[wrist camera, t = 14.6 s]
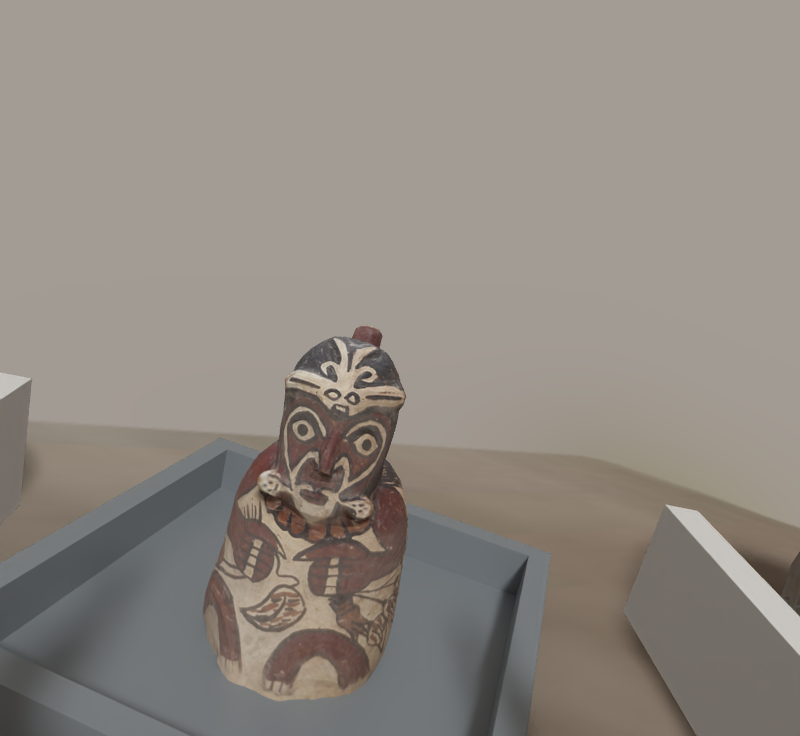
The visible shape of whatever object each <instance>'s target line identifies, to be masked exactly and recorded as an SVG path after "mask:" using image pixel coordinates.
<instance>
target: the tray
mask: <svg viewBox="0 0 800 736" xmlns="http://www.w3.org/2000/svg"><path fill="white" fill-rule="evenodd" d="M260 453H261V452H260V451H257V450H254V449H251V448H249V447H246V446H243V445H240V444H237V443H234V442H231V441H229V440H226V439H223V438H219V439H217V440H216V441H214V442H212V443H210V444H209V445H207V446H205V447H203V448H202V449H200V450H198V451H196V452H195V453H193V454H191V455H189V456H187V457H186V458H184V459H182V460H180V461H179V462H177V463H175V464H173V465H172V466H170V467H168V468H166V469H165V470H163V471H161V472H159V473H158V474H156V475H154V476H152V477H151V478H149V479H147V480H145V481H144V482H142V483H140V484H138V485H136V486H135V487H133V488H131V489H129V490H128V491H126V492H124V493H122V494H121V495H119V496H117V497H115V498H114V499H112V500H110V501H108V502H107V503H105V504H103V505H101V506H100V507H98V508H96V509H94V510H93V511H91V512H89V513H87V514H86V515H84V516H82V517H80V518H78V519H77V520H75V521H73V522H71V523H70V524H68V525H66V526H64V527H63V528H61V529H59V530H57V531H56V532H54V533H52V534H50V535H49V536H47V537H45V538H43V539H42V540H40V541H38V542H36V543H35V544H33V545H31V546H29V547H27V548H26V549H24V550H22V551H20V552H19V553H17V554H15V555H13V556H12V557H10V558H8V559H6V560H5V561H3V562H1V563H0V736H527V728H528V721H529V714H530V706H531V699H532V691H533V684H534V677H535V669H536V662H537V654H538V647H539V640H540V632H541V625H542V617H543V610H544V603H545V595H546V588H547V581H548V573H549V566H550V558H551V553H549V552H546V551H543V550H540V549H537V548H534V547H531V546H529V545H526V544H523V543H520V542H517V541H514V540H511V539H509V538H506V537H503V536H500V535H497V534H494V533H491V532H489V531H486V530H483V529H480V528H477V527H474V526H471V525H469V524H466V523H463V522H460V521H457V520H454V519H451V518H449V517H446V516H443V515H440V514H437V513H434V512H431V511H429V510H426V509H423V508H420V507H417V506H414V505H411V504H409V503H407V513H408V537H407V544H406V551H405V557H404V562H403V567H402V572H401V578H400V585H399V592H398V598H397V604H396V609H395V614H394V619H393V623H392V627H391V631H390V634H389V638H388V641H387V644H386V648H385V651H384V653H383V655H382V657H381V660H380V661H379V663H378V665H377V666H376V668H375V670H374V671H373V673H372V675H371V676H370V678H369V679H368V680H367V681H366V683H365V684H364V685H363V686H361V687H360V688H358V689H357V690H355V691H354V692H352V693H351V694H346V695H341V696H338V697H324V698H318V699H314V700H310V699H297V700H285V701H275V700H273V699H270V698H267V697H264V696H262V695H261V694H259V693H257V692H256V691H254V690H251V689H249V688H247V687H244V686H241V685H237V684H235V683H233V682H231V681H229V680H228V679H227V678H226V677H225V676H224V674H223V673H222V672H221V670H220V668H219V665H218V663H217V655H216V654H215V653H214V652H213V650H212V647H211V645H210V643H209V641H208V639H207V628H206V624H205V621H204V618H203V607H204V599H205V593H206V589H207V586H208V582H209V579H210V576H211V574H212V571H213V569H214V567H215V564H216V562H217V559H218V557H219V554H220V551H221V548H222V545H223V542H224V538H225V534H226V530H227V526H228V522H229V519H230V515H231V512H232V508H233V503H234V499H235V495H236V492H237V490H238V487H239V485H240V483H241V480H242V479H243V477H244V476H245V474H246V472H247V471H248V469H249V468H250V466H251V464H252V462H253V461H254V460H255V459H256V457H257V456H258V455H259V454H260Z"/></svg>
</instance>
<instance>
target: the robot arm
mask: <svg viewBox="0 0 800 736" xmlns="http://www.w3.org/2000/svg"><path fill="white" fill-rule="evenodd" d="M31 382H32V379H31V378H26V377H21V376H16V375H11V374H6V373H1V372H0V525H1V524H2V523H3V522H4V521H5V520H6V519H7V518H8V517H9V516H10V515H11V514H12V513H13V512H14V511H15V510H16V509H17V508H18V507H19V506H20V503H21V492H22V481H23V470H24V459H25V448H26V437H27V426H28V415H29V404H30V393H31ZM623 612H624V613H625V615H626V617H627V619H628V620H629V622H630V624H631V625H632V627H633V629H634V630H635V632H636V634H637V636H638V637H639V639H640V641H641V642H642V644H643V646H644V647H645V649H646V651H647V653H648V654H649V656H650V658H651V659H652V661H653V663H654V664H655V666H656V668H657V670H658V671H659V673H660V675H661V676H662V678H663V680H664V681H665V683H666V685H667V687H668V688H669V690H670V692H671V693H672V695H673V697H674V699H675V700H676V702H677V704H678V705H679V707H680V709H681V710H682V712H683V714H684V716H685V717H686V719H687V721H688V722H689V724H690V726H691V727H692V729H693V731H694V733H695V734H696V736H800V616H799V615H798V614H797V613H796V612H795V611H794V610H793V609H792V608H791V607H790V606H789V605H788V604H787V603H786V602H785V601H784V600H783V599H782V598H781V597H780V596H779V595H778V594H777V593H776V592H775V590H774V589H773V588H772V587H771V586H770V585H769V584H768V583H767V582H766V581H765V580H764V579H763V578H762V577H761V576H760V575H759V574H758V573H757V572H756V571H755V570H754V569H753V568H752V567H751V566H750V565H749V564H748V563H747V562H746V561H745V559H744V558H743V557H742V556H741V555H740V554H739V553H738V552H737V551H736V550H735V549H734V548H733V547H732V546H731V545H730V544H729V543H728V542H727V541H726V540H725V539H724V538H723V537H722V536H721V535H720V534H719V533H718V532H717V531H716V529H715V528H714V527H713V526H712V525H711V524H710V523H709V522H708V521H707V520H706V519H705V518H704V517H703V516H702V515H701V514H700V513H699V512H698V511H695V510H690V509H685V508H680V507H675V506H670V505H665V506H664V509H663V511H662V514H661V516H660V519H659V522H658V524H657V527H656V529H655V532H654V534H653V537H652V539H651V542H650V544H649V547H648V550H647V552H646V555H645V557H644V560H643V562H642V565H641V567H640V570H639V572H638V575H637V577H636V580H635V583H634V585H633V588H632V590H631V593H630V595H629V598H628V600H627V603H626V605H625V608H624V611H623Z"/></svg>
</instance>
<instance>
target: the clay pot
mask: <svg viewBox="0 0 800 736" xmlns="http://www.w3.org/2000/svg"><path fill="white" fill-rule="evenodd" d="M781 598H782V599H783V600H784V601H785V602H786V603H787V604H788V605H789V606H790V607H791V608H792V609H793V610H794V611H795V612H796V613H797V614H798V615H799V616H800V552H799V554H798V555H797V557H796V558H795V560H794V561H793V563H792V565H791V569H790V572H789V574H788V577H787V580H786V582H785V585H784V588H783V591H782V594H781Z"/></svg>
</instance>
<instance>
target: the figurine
mask: <svg viewBox="0 0 800 736" xmlns="http://www.w3.org/2000/svg"><path fill="white" fill-rule="evenodd" d="M381 339H382V334H381V332H380V331H379V330H378V329H376V328H374V327H371V326H367V325H364V326H360V327H358V328H356V330H355V332H354V335H353V337H352V338H348V337H333V338H330V339H328V340H325V341H323V342H321V343H320V344H318V345H316V346H315V347H313V348H312V349H310V350H309V351H308V352H307V353H306V354H305V355H304V356H303V357H302V358H301V360H300V361H299V362H298V364H297V365H296V367H295V369H294V371H292V372H291V373H290V374H289V376H288V377H287V378H286V379H285V402H284V412H283V417H282V422H281V428H280V435H279V440H277V441H276V442H274V443H273V444H272V445H271V446H269V447H268V448H267V449H265V450H264V451H263V452H261V453H260V454H259V455H258V456H257V457H256V459H255V460H254V461H253V462H252V464H251V466H250V468H249V469H248V471H247V472H246V474H245V476H244V477H243V479H242V480H241V483H240V485H239V487H238V490H237V492H236V495H235V499H234V503H233V508H232V512H231V515H230V519H229V522H228V526H227V530H226V534H225V538H224V542H223V545H222V548H221V551H220V554H219V557H218V559H217V562H216V564H215V567H214V569H213V571H212V574H211V576H210V579H209V582H208V586H207V589H206V593H205V599H204V607H203V618H204V621H205V624H206V628H207V639H208V641H209V643H210V645H211V647H212V650H213V652H214V653H215V654H216V655H217V663H218V665H219V668H220V670H221V672H222V673H223V674H224V676H225V677H226V678H227V679H228V680H229V681H231V682H233V683H235V684H237V685H241V686H244V687H247V688H249V689H251V690H254V691H256V692H257V693H259V694H261V695H262V696H264V697H267V698H270V699H273V700H275V701H285V700H297V699H310V700H314V699H318V698H324V697H338V696H341V695H346V694H351V693H352V692H354V691H355V690H357V689H358V688H360V687H361V686H363V685H364V684H365V683H366V681H367V680H368V679H369V678H370V676H371V675H372V673H373V671H374V670H375V668H376V666H377V665H378V663H379V661H380V660H381V657H382V655H383V653H384V651H385V648H386V644H387V641H388V638H389V634H390V631H391V627H392V623H393V619H394V614H395V609H396V604H397V598H398V592H399V585H400V578H401V572H402V567H403V562H404V557H405V551H406V544H407V537H408V513H407V503H406V499H405V495H404V491H403V488H402V485H401V481H400V479H399V477H398V476H397V474H396V472H395V471H394V469H393V468H392V466H391V464H390V463H389V462H388V461H387V460H386V459H385V458H386V456H387V453H388V450H389V447H390V444H391V441H392V438H393V435H394V431H395V428H396V424H397V419H398V413H399V410H400V409H401V407H402V406H403V405H404V401H405V398H406V395H405V392H404V389H403V387H402V385H401V383H400V379H399V375H398V373H397V371H396V368H395V366H394V364H393V361H392V360H391V358H390V357H389V355H388V354H387V353H386V352H384V351H383V350H381V349H380V348H379V347H380V343H381Z"/></svg>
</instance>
